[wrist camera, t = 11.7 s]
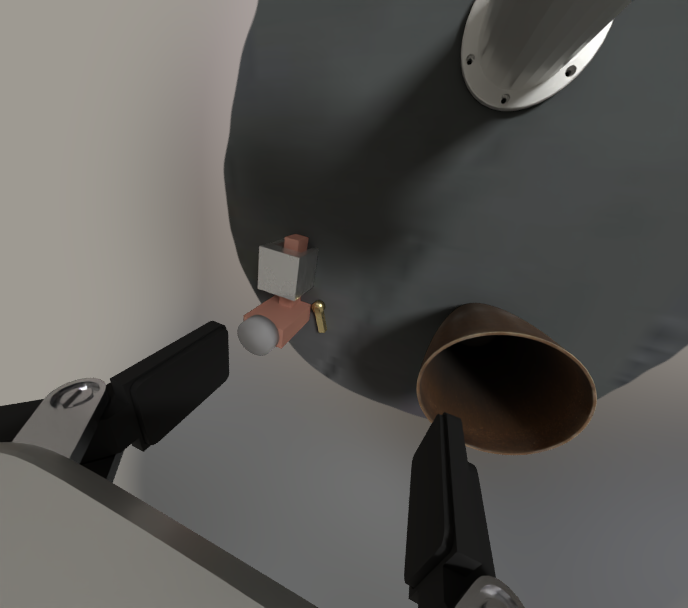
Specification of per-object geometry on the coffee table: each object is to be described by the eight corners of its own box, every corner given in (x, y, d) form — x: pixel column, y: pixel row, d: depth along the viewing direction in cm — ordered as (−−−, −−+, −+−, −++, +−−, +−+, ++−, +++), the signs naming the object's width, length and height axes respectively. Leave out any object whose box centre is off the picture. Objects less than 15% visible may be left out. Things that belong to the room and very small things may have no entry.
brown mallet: (283, 230, 41) (233, 242, 31) (321, 241, 40) (282, 257, 29) (276, 314, 49) (234, 346, 38) (308, 325, 47) (273, 362, 37)
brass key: (313, 300, 45) (310, 302, 44) (324, 300, 44) (321, 302, 43) (318, 329, 47) (316, 332, 46) (329, 329, 46) (327, 332, 45)
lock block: (284, 238, 42) (259, 245, 36) (319, 248, 40) (299, 258, 34) (281, 276, 45) (257, 288, 39) (313, 286, 44) (294, 301, 38)
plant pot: (419, 359, 43) (414, 437, 29) (422, 277, 37) (418, 326, 23) (519, 370, 38) (571, 470, 24) (540, 278, 32) (624, 341, 18)
